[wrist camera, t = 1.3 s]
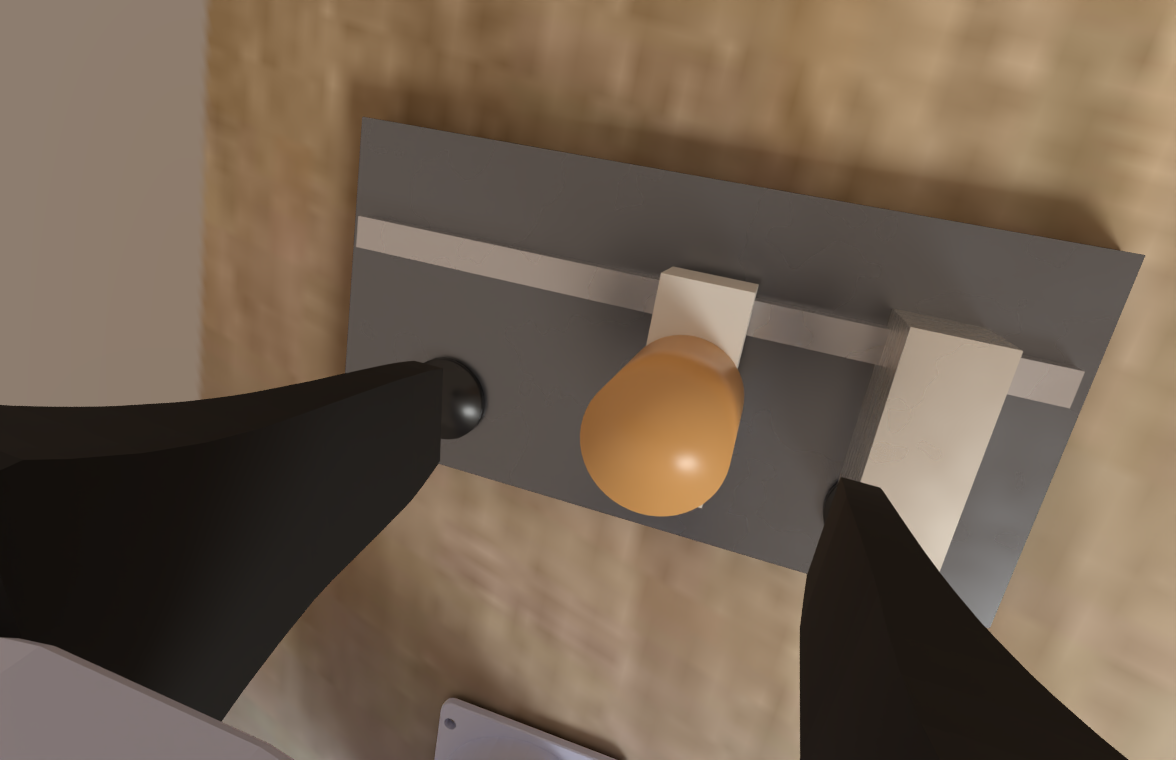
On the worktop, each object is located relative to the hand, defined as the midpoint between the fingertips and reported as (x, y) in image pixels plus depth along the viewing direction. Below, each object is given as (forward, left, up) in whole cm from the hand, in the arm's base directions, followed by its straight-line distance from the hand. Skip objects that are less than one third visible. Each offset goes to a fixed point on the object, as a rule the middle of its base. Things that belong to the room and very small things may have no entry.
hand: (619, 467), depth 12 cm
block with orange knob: (-1, 0, -9) cm, 8 cm away
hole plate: (0, +1, -10) cm, 10 cm away
